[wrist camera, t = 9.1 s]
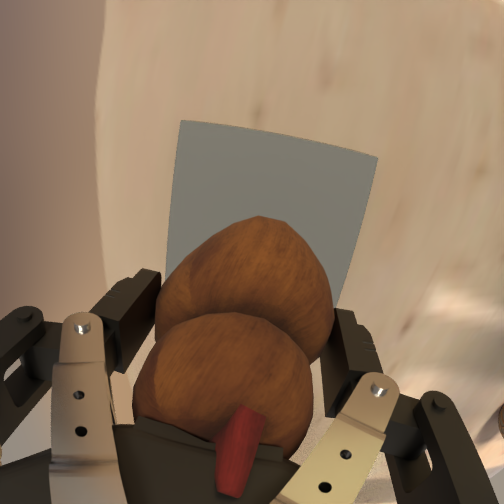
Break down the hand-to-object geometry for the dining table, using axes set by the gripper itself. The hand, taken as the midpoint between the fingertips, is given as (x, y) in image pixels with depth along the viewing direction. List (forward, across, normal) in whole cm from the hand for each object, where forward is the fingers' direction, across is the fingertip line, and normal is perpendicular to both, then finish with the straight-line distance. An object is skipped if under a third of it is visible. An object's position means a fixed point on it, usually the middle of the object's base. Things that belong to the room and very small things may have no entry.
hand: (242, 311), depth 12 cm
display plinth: (+13, 0, 0) cm, 13 cm away
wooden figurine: (+5, 0, 0) cm, 5 cm away
